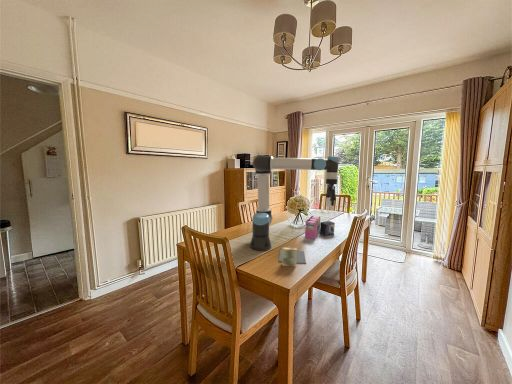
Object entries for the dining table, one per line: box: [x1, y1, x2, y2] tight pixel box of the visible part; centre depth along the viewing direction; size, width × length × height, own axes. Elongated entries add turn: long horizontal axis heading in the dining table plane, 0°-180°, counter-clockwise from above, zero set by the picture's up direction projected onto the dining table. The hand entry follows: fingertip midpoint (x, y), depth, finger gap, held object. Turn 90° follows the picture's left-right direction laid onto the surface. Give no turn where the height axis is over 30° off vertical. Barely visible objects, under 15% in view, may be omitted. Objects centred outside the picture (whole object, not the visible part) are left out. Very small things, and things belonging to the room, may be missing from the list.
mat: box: [278, 249, 307, 265], centre depth 136 cm, size 16×18×1 cm
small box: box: [319, 220, 335, 237], centre depth 181 cm, size 11×6×10 cm, turn 115°
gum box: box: [304, 215, 321, 240], centre depth 180 cm, size 24×8×14 cm, turn 153°
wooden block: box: [281, 247, 298, 267], centre depth 124 cm, size 8×2×10 cm, turn 81°
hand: (329, 208), depth 153 cm, fingers open, 13 cm apart
